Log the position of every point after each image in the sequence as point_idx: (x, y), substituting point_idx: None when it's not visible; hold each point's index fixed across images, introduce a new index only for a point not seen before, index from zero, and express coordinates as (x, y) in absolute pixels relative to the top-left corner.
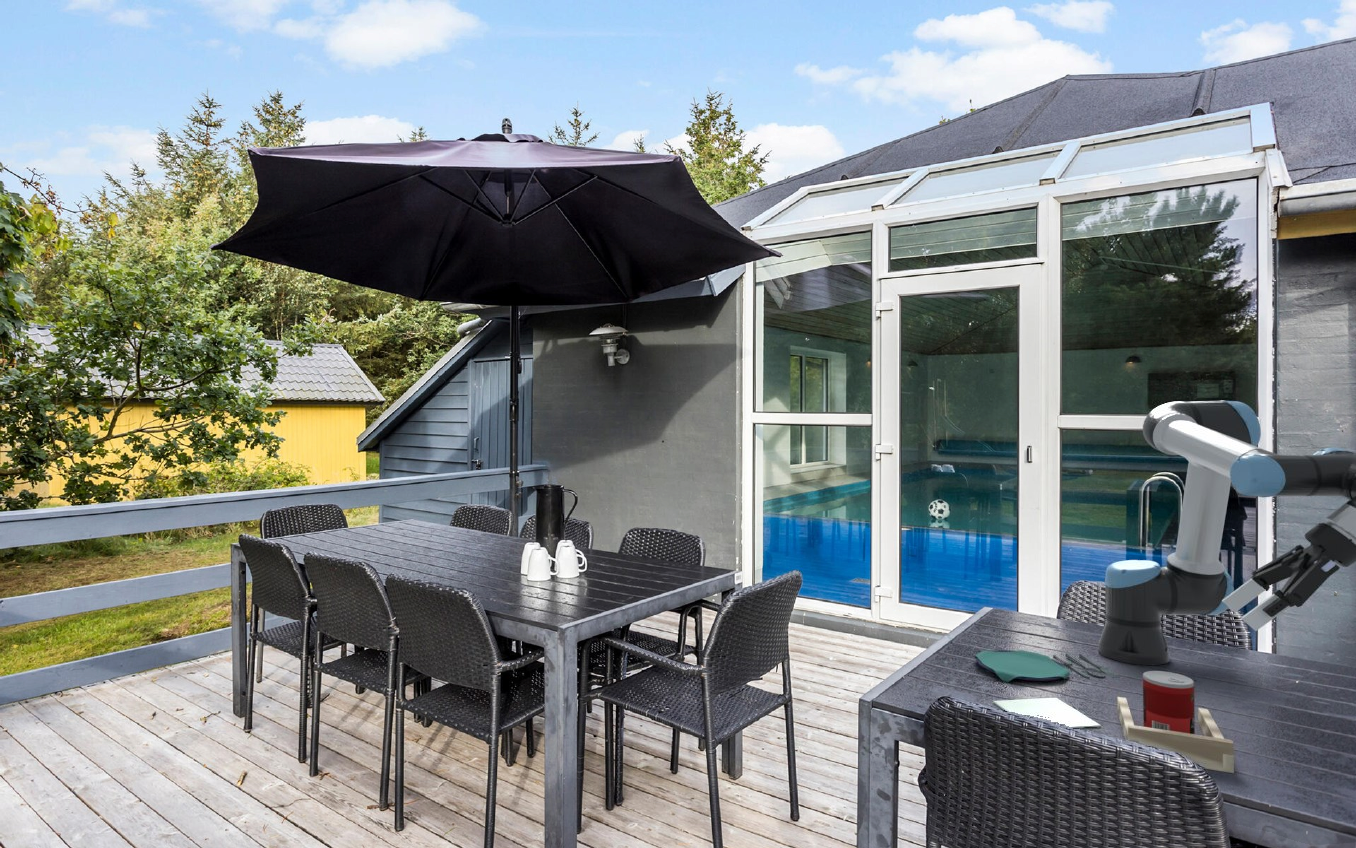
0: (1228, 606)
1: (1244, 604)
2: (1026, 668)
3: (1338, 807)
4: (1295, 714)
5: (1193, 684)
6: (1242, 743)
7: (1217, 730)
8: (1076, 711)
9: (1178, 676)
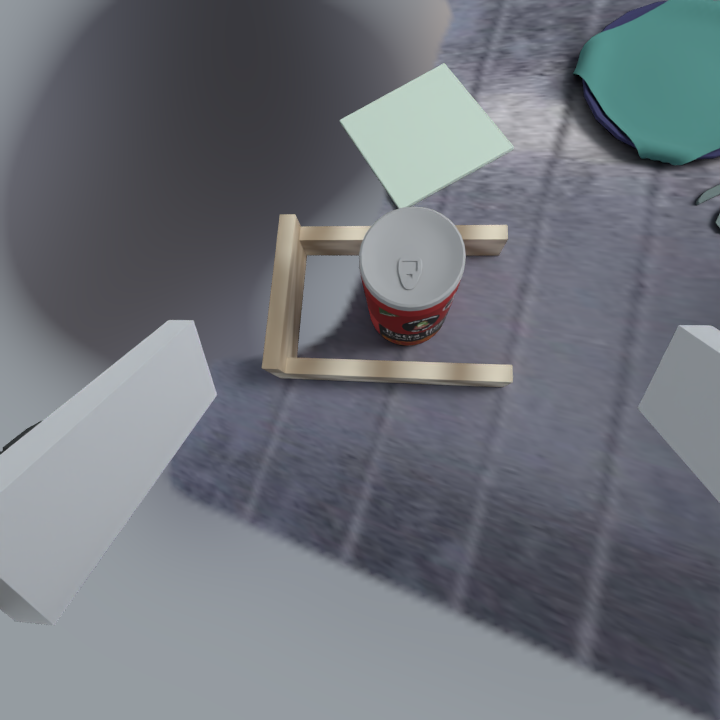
0: (660, 367)
1: (691, 463)
2: (669, 90)
3: (205, 496)
4: (678, 601)
5: (395, 306)
6: (424, 426)
7: (384, 373)
8: (452, 176)
9: (443, 281)
